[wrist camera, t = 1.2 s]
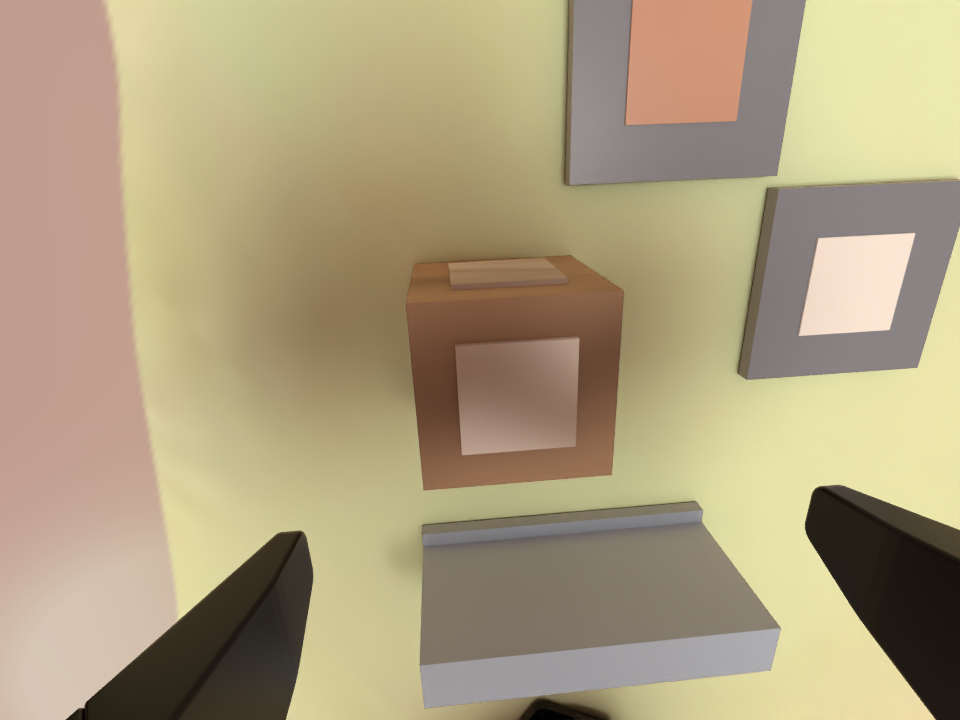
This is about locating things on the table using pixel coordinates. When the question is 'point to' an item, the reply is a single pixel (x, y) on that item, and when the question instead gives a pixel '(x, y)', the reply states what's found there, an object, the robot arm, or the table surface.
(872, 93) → the table surface
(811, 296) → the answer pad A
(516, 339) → the brown paneled cube
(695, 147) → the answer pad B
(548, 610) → the screen
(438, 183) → the table surface
